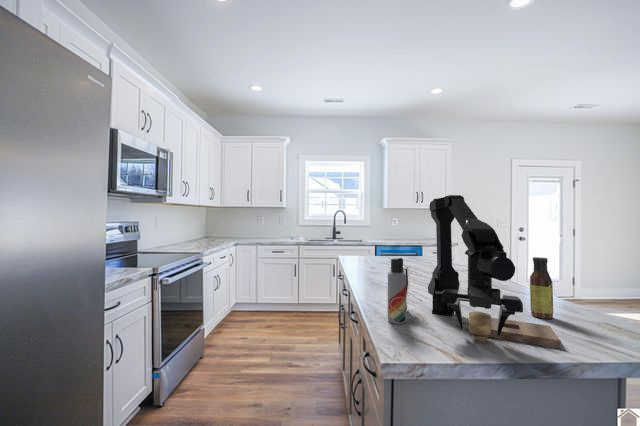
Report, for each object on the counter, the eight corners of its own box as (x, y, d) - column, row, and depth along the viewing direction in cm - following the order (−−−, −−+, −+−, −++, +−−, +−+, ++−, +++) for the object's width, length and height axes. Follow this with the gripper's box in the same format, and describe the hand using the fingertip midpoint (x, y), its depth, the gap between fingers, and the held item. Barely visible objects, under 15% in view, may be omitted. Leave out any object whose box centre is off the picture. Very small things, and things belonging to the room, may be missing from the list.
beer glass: (411, 308, 107) (412, 267, 107) (406, 313, 101) (406, 269, 101) (393, 305, 110) (393, 265, 111) (386, 310, 104) (386, 267, 105)
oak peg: (468, 341, 78) (468, 315, 78) (468, 334, 83) (468, 310, 83) (491, 345, 75) (491, 318, 76) (490, 338, 80) (490, 313, 80)
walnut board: (471, 333, 83) (471, 326, 84) (471, 321, 94) (471, 314, 94) (560, 348, 74) (560, 340, 74) (549, 332, 85) (549, 325, 85)
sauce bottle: (557, 320, 96) (557, 259, 96) (536, 319, 97) (535, 258, 98) (546, 314, 102) (546, 256, 103) (526, 312, 103) (526, 256, 104)
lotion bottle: (403, 325, 89) (403, 259, 90) (384, 322, 92) (385, 257, 93) (408, 320, 94) (408, 257, 95) (390, 317, 97) (391, 256, 98)
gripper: (439, 274, 77) (439, 335, 76) (526, 282, 68) (526, 351, 68) (443, 268, 87) (443, 322, 86) (519, 275, 78) (519, 334, 78)
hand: (479, 331), depth 79 cm, fingers open, 8 cm apart
